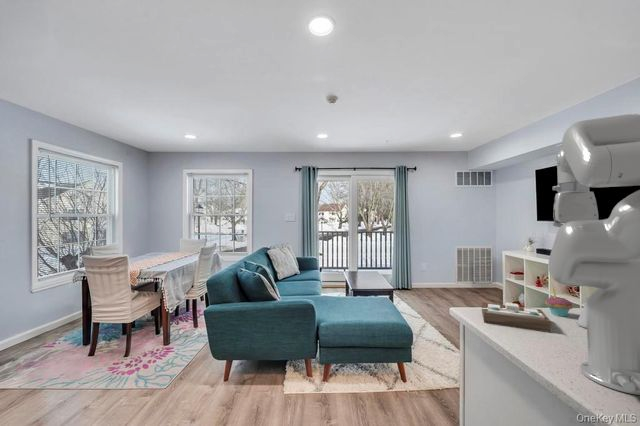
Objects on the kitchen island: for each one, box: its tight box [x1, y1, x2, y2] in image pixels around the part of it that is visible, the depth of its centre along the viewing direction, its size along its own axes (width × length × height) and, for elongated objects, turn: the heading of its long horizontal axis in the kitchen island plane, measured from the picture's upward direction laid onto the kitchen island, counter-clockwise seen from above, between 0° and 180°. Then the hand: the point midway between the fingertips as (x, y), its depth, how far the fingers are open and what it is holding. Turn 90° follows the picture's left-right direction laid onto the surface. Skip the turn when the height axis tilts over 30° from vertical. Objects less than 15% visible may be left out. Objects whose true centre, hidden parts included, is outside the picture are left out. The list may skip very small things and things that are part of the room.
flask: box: [576, 298, 588, 329], centre depth 99 cm, size 7×7×10 cm
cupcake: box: [545, 285, 574, 317], centre depth 112 cm, size 9×8×12 cm
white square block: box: [488, 303, 500, 308], centre depth 109 cm, size 4×4×3 cm
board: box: [481, 302, 552, 333], centre depth 105 cm, size 14×20×5 cm
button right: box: [523, 307, 539, 313], centre depth 103 cm, size 4×4×3 cm
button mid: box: [504, 302, 520, 311], centre depth 106 cm, size 4×4×3 cm
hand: (575, 244), depth 88 cm, fingers closed
